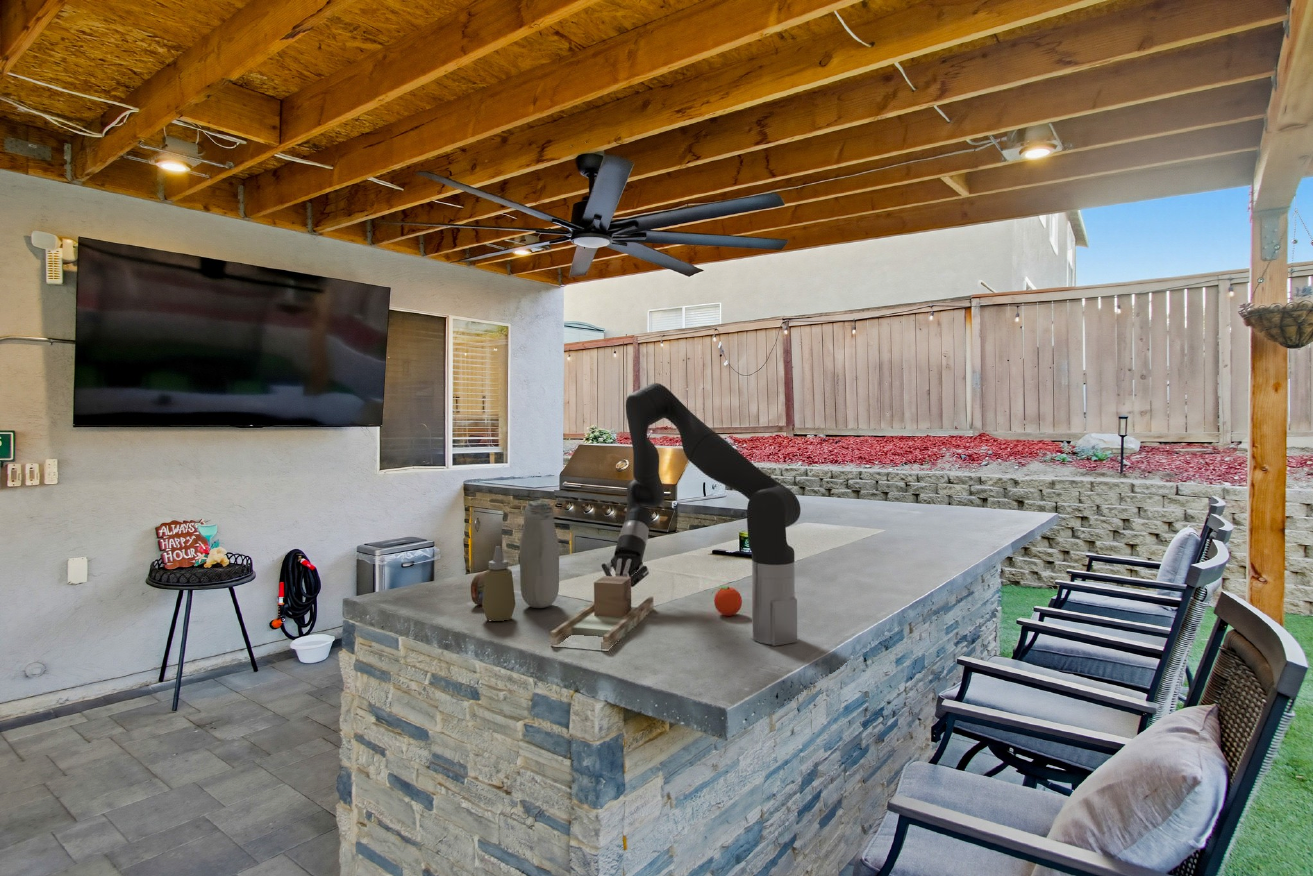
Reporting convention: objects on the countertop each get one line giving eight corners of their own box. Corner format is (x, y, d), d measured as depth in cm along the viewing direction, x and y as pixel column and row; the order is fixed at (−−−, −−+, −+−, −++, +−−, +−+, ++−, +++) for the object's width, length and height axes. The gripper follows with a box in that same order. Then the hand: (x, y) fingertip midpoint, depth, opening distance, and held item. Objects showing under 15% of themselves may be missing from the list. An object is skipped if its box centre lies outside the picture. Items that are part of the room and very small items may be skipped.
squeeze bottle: (502, 613, 172) (501, 542, 171) (522, 618, 166) (521, 545, 166) (475, 620, 165) (474, 547, 165) (495, 626, 160) (494, 550, 160)
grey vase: (563, 609, 174) (562, 501, 174) (524, 613, 171) (522, 503, 170) (554, 600, 184) (553, 497, 183) (517, 604, 180) (515, 499, 179)
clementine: (706, 616, 166) (705, 588, 166) (715, 609, 173) (715, 582, 173) (737, 620, 163) (736, 591, 163) (745, 613, 169) (745, 584, 169)
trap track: (606, 605, 177) (606, 593, 177) (653, 609, 174) (653, 596, 174) (550, 646, 145) (550, 631, 145) (607, 651, 141) (607, 636, 141)
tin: (479, 609, 176) (478, 576, 176) (468, 608, 177) (468, 576, 177) (508, 595, 190) (508, 565, 190) (499, 594, 191) (498, 564, 191)
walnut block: (604, 607, 168) (604, 575, 168) (631, 609, 166) (631, 577, 166) (594, 615, 161) (593, 582, 161) (622, 617, 159) (621, 583, 159)
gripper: (659, 550, 180) (645, 609, 168) (612, 548, 183) (596, 605, 172) (653, 534, 174) (638, 593, 163) (605, 532, 178) (588, 589, 167)
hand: (616, 599), depth 168 cm, fingers closed
